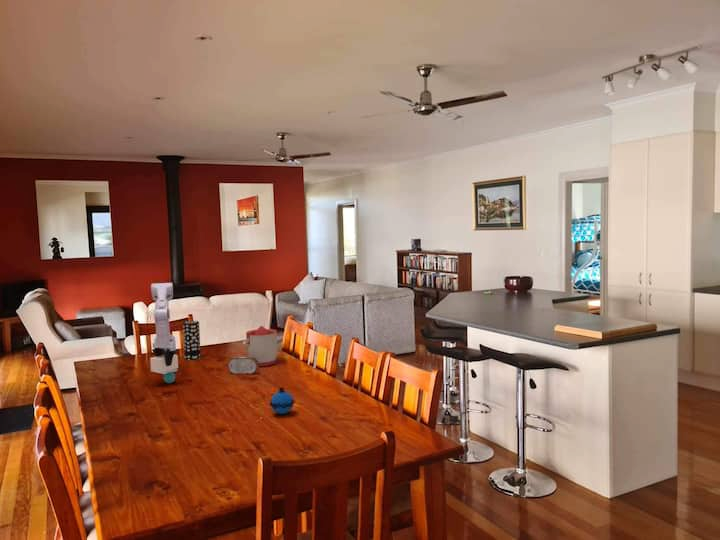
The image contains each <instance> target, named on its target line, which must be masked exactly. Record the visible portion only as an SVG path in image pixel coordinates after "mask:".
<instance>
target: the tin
mask: <svg viewBox="0 0 720 540" xmlns="http://www.w3.org/2000/svg"><path fill="white" fill-rule="evenodd" d="M259 368H260V367H259V362H258V360H257V359H256V358H255V357H251V356H248V355H246V356H243V355H242V356H241V355H239V356H238V355H237V356H236V355H235V356H233V357H231V358H230V359H229V361H227V369H228V371H229V372H230V373H231V374H233V375H247V374H246V373H249V374H248V375H251V374H250V373H254V374H256V373H257V371H258V370H259Z"/></svg>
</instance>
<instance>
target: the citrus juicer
mask: <svg viewBox="0 0 720 540" xmlns="http://www.w3.org/2000/svg"><path fill="white" fill-rule="evenodd" d="M277 332H278V330H277V329H275V328H274V329H272V328H265V326H263V325H260V326H259V327H258V328H256V329H252V330H247V331H246V334H245V335H246V338H245V339H244V340H243V343H242V344H243V345H246V348H247V356H251V357H255V358H256V359H257V360H258V362H259V366H260V367H268V366H272V365H271V364H273V365H274V364H275V362H276V360H277V356H278V355H277V353H278V339H277V338H278V336H277V335H278V333H277Z"/></svg>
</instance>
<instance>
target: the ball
mask: <svg viewBox="0 0 720 540" xmlns="http://www.w3.org/2000/svg"><path fill="white" fill-rule="evenodd" d="M163 375H164V376H163V381H164V382H165V383H166V384H173V383H174V381H175V379H176V374H175V373H174V372H168V373H166V374H163Z"/></svg>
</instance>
